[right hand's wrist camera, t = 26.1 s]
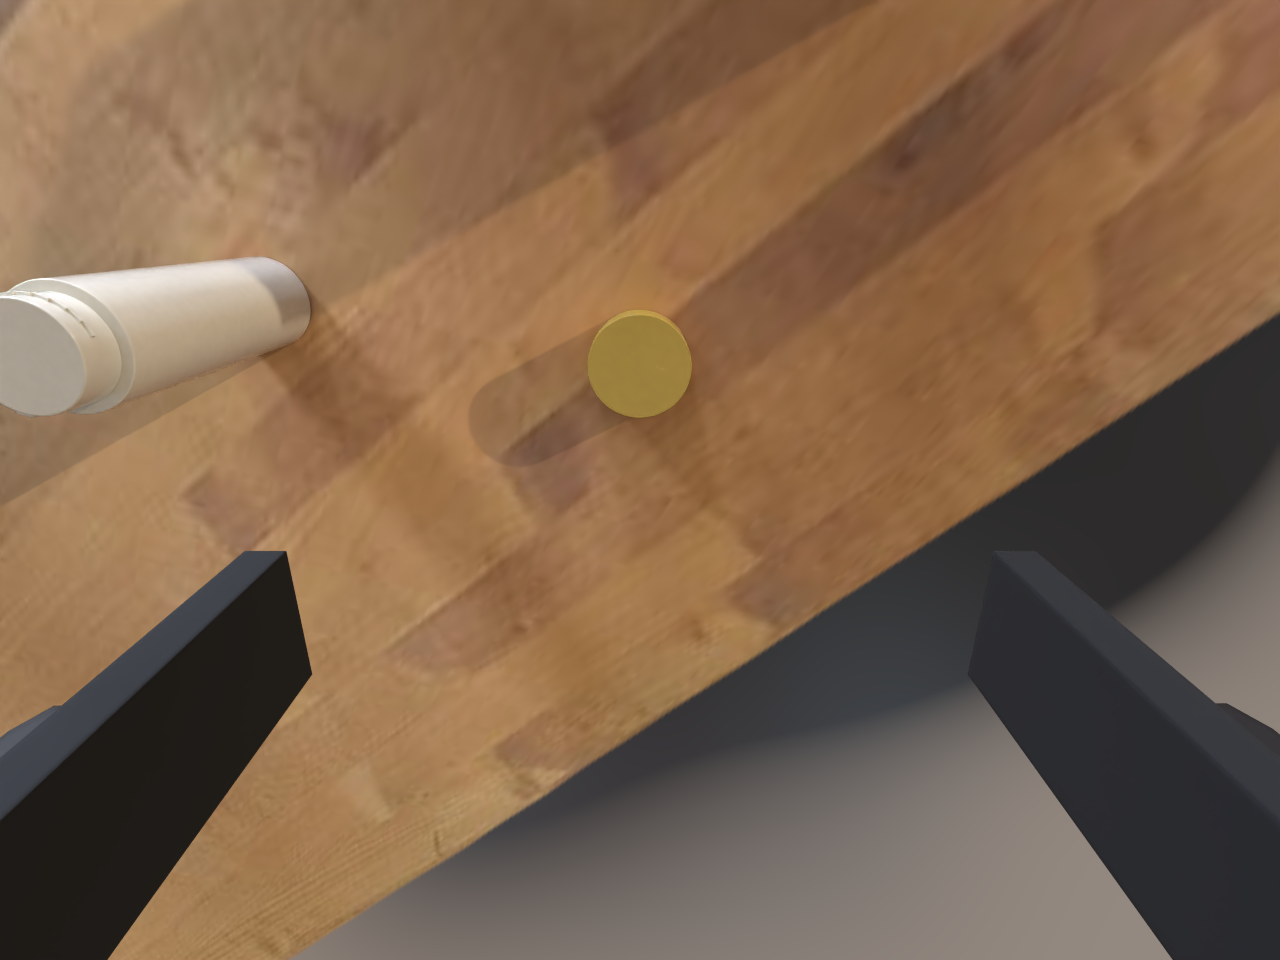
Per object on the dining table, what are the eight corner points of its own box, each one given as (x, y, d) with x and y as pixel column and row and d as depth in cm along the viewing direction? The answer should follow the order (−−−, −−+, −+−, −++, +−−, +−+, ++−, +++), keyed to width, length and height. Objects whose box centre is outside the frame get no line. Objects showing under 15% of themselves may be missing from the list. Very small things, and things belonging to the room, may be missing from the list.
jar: (227, 243, 35) (-56, 260, 21) (318, 275, 35) (103, 313, 21) (215, 329, 36) (-55, 401, 22) (302, 359, 37) (93, 447, 23)
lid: (678, 416, 38) (679, 426, 36) (582, 399, 38) (579, 408, 36) (698, 320, 36) (702, 325, 34) (598, 300, 36) (596, 305, 34)
